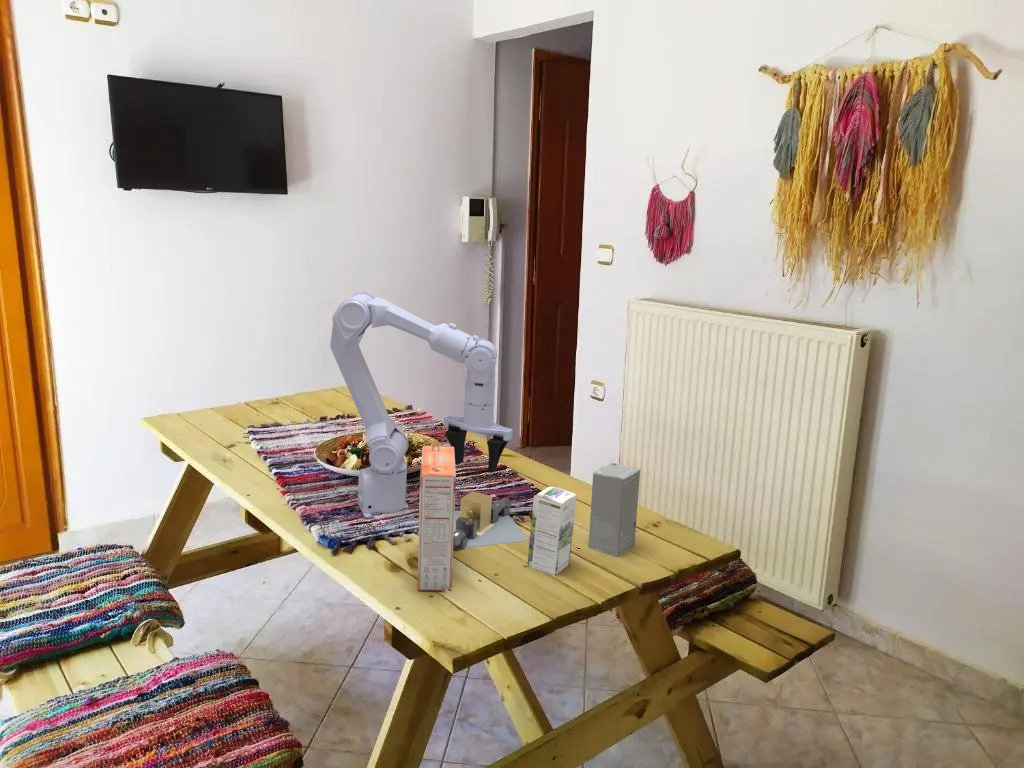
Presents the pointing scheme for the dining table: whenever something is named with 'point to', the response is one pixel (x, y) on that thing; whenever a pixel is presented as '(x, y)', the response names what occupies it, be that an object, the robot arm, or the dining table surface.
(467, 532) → the shaft
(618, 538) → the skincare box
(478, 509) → the tan block
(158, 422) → the dining table surface
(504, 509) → the shaft
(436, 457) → the cracker box
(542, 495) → the syrup box
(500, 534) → the board
